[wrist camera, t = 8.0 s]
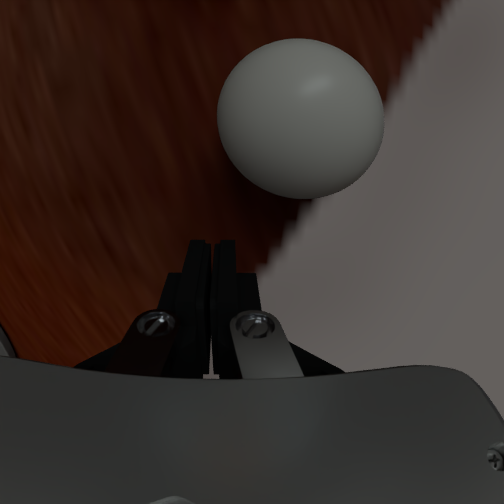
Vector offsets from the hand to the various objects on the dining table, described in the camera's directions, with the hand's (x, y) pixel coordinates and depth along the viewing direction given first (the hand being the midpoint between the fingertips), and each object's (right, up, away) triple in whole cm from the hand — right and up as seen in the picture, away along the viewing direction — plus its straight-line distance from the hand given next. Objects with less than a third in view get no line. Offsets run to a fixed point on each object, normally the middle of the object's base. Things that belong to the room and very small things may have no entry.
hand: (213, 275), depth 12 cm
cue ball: (+3, +5, -2) cm, 7 cm away
